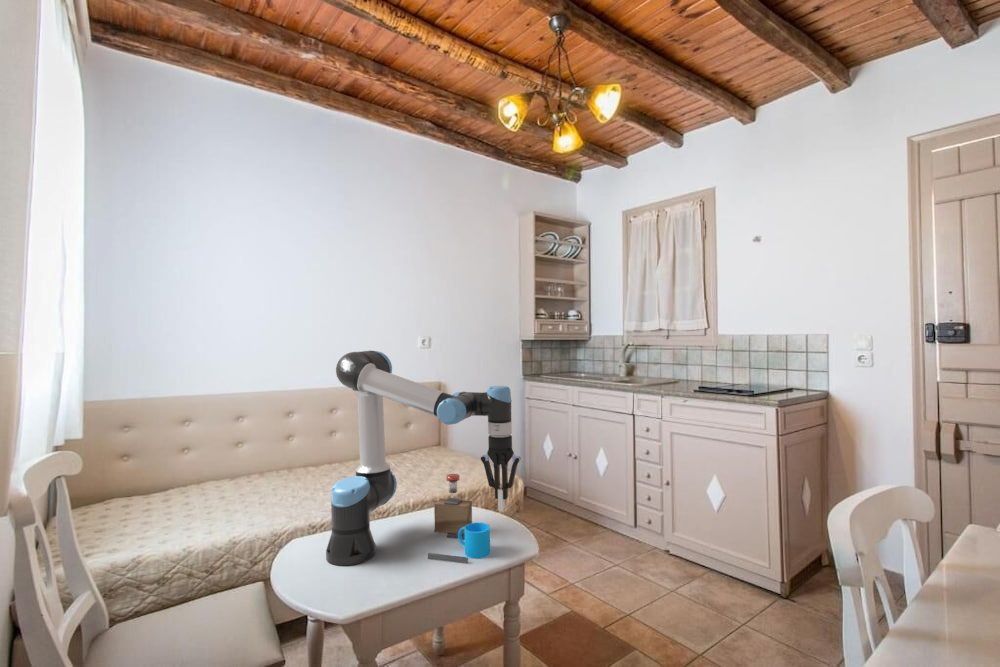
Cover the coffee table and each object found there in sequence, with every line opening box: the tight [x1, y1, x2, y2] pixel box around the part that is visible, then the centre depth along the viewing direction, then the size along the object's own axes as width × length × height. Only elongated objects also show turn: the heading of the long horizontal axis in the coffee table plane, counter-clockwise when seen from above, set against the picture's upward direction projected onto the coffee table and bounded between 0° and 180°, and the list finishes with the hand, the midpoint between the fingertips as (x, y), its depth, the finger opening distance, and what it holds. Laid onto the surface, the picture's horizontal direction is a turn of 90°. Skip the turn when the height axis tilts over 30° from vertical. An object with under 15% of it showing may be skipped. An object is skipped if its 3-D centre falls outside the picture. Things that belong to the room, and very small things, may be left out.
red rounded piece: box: [446, 473, 460, 494], centre depth 173 cm, size 5×5×6 cm
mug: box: [458, 522, 491, 560], centre depth 157 cm, size 12×8×8 cm
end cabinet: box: [433, 497, 473, 534], centre depth 173 cm, size 6×12×11 cm, turn 75°
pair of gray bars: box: [427, 532, 469, 564], centre depth 158 cm, size 13×17×2 cm
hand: (501, 508), depth 154 cm, fingers closed
